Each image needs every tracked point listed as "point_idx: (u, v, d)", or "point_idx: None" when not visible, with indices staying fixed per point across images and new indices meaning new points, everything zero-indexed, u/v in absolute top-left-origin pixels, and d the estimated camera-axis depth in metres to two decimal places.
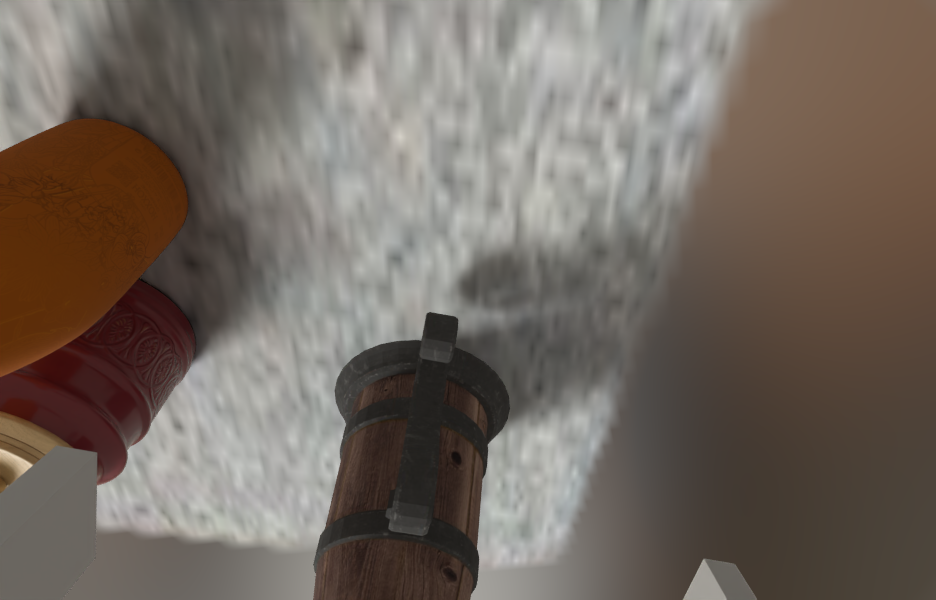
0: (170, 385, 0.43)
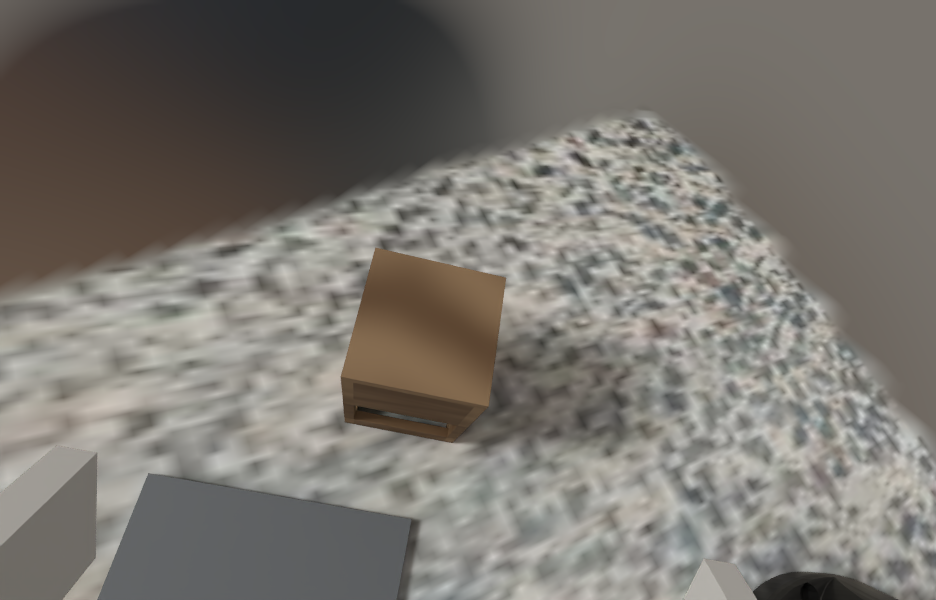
0: None
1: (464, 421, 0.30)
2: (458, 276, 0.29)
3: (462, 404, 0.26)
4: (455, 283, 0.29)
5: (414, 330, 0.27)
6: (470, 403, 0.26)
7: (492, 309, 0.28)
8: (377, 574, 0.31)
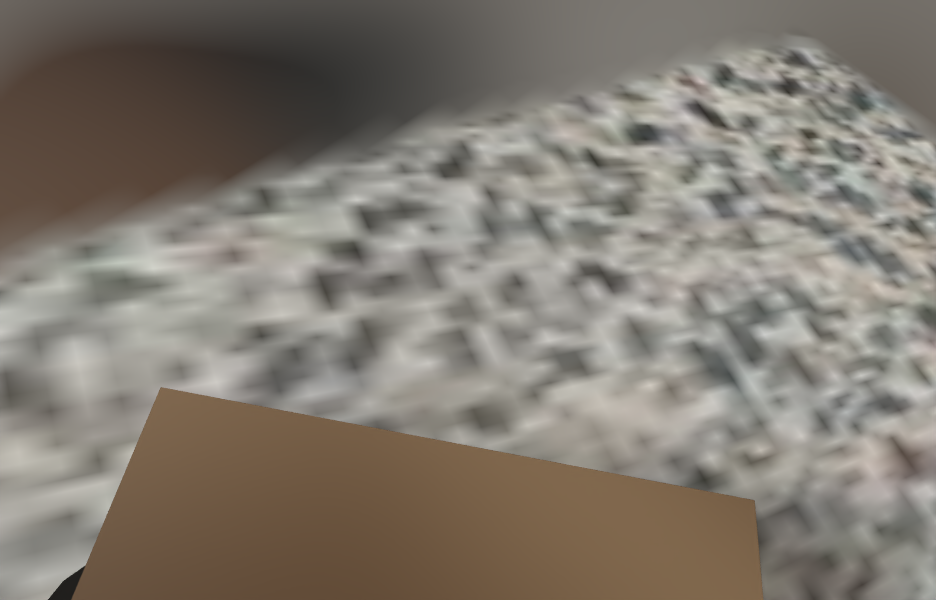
0: None
1: None
2: (556, 514, 0.06)
3: None
4: (545, 556, 0.06)
5: None
6: None
7: None
8: None
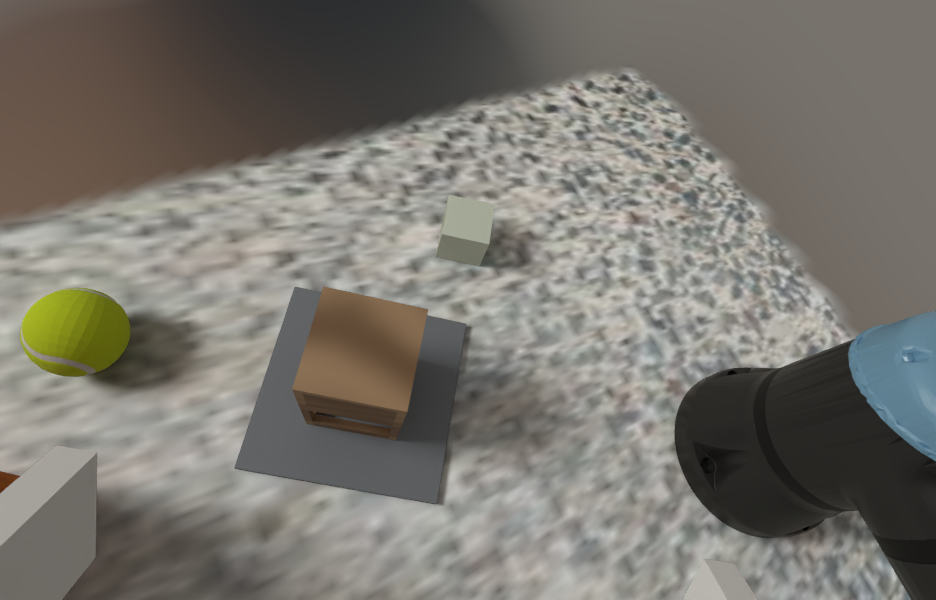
0: None
1: (396, 423, 0.37)
2: (389, 309, 0.36)
3: (388, 410, 0.34)
4: (386, 314, 0.36)
5: (351, 352, 0.35)
6: (393, 409, 0.34)
7: (415, 335, 0.36)
8: (445, 353, 0.48)
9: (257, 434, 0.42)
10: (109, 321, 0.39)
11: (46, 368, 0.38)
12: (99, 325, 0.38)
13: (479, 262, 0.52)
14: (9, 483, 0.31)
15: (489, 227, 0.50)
